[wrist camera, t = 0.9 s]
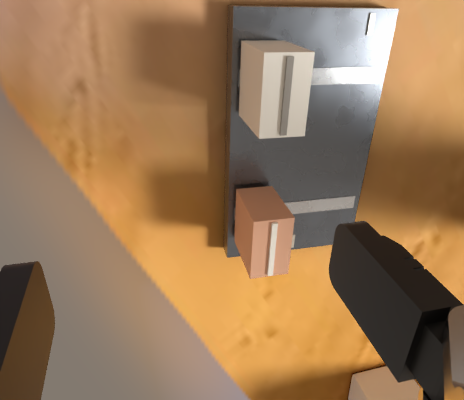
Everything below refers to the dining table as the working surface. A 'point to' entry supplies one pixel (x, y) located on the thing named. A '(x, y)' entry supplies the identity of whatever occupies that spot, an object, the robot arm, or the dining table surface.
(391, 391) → the milk carton
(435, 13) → the dining table surface
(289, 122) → the block
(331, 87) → the console board
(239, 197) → the fader terracotta
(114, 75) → the dining table surface
